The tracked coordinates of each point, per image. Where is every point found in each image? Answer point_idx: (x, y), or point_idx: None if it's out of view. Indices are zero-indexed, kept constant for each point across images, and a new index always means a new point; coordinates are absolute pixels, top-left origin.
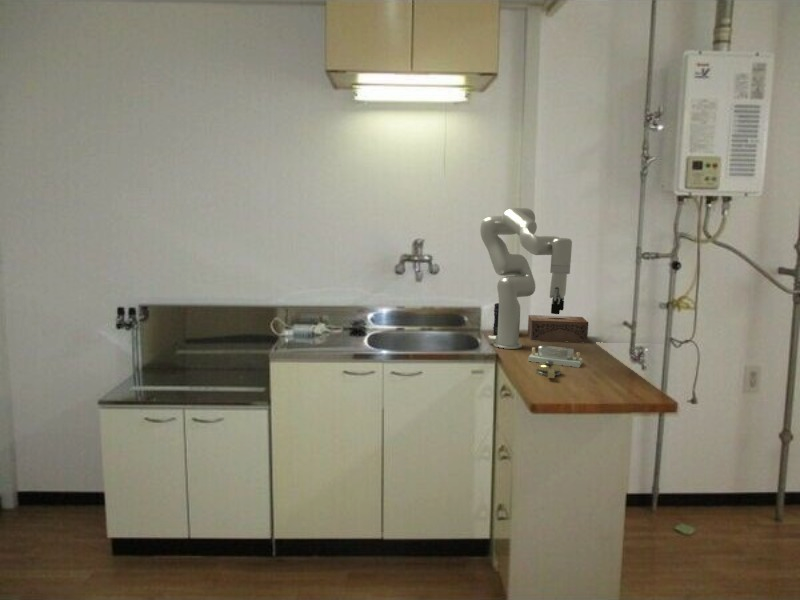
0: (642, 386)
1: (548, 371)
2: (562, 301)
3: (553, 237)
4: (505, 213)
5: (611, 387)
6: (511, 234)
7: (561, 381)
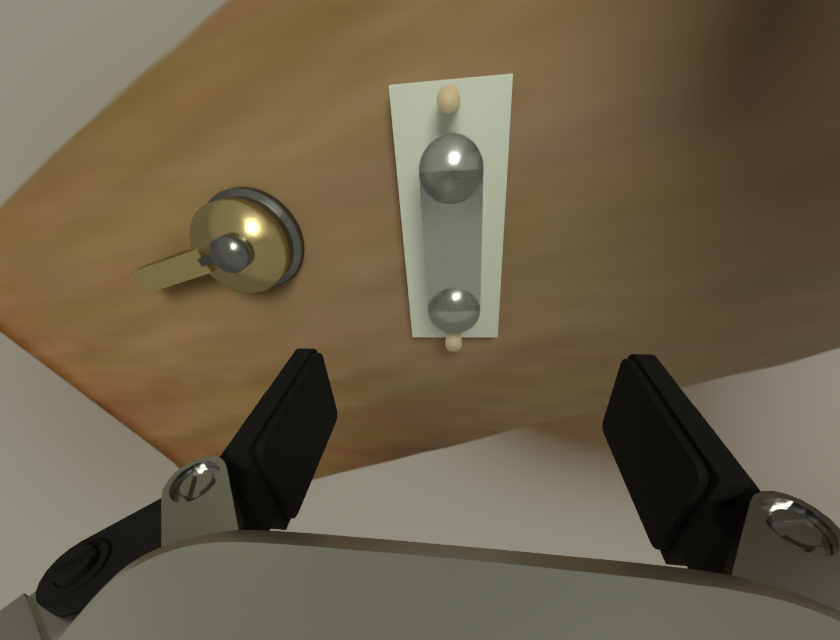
0: None
1: (141, 270)
2: (657, 538)
3: None
4: None
5: None
6: None
7: (193, 299)
